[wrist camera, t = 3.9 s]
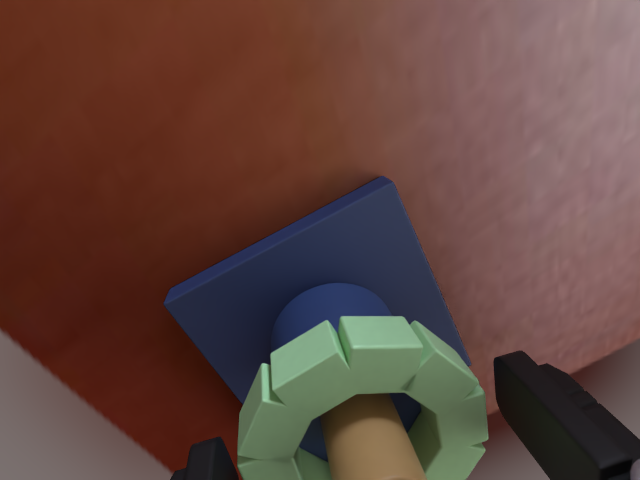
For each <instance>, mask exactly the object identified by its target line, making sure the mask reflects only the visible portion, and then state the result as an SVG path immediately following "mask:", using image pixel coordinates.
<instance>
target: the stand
mask: <svg viewBox="0 0 640 480" xmlns="http://www.w3.org/2000/svg"><path fill="white" fill-rule="evenodd" d="M163 304H164V306H165V307H166V309H167V310H168V311H169V313H170V314H171V315H172V316H173V318H174V319H175V320H176V321H177V323H178V324H179V325H180V326H181V328H182V329H183V330H184V331H185V333H186V334H187V335H188V336H189V338H190V339H191V340H192V342H193V343H194V344H195V345H196V347H197V348H198V349H199V350H200V352H201V353H202V354H203V355H204V357H205V358H206V359H207V360H208V362H209V363H210V364H211V365H212V367H213V368H214V369H215V371H216V372H217V373H218V374H219V376H220V377H221V378H222V379H223V381H224V382H225V383H226V384H227V386H228V387H229V388H230V389H231V391H232V392H233V393H234V394H235V396H236V397H237V398H238V400H239V401H240V402H241V403H242V405H243V404H244V402H245V400H246V397H247V395H248V393H249V391H250V388H251V386H252V384H253V382H254V379H255V377H256V375H257V372H258V370H259V368H260V366H261V364H262V363H264V364H268V365H271V360H270V354H271V353H272V352H274V351H275V350H277V349H279V348H280V347H282V346H284V345H285V344H287V343H289V342H290V341H292V340H294V339H295V338H297V337H299V336H300V335H302V334H304V333H305V332H307V331H309V330H310V329H312V328H314V327H315V326H317V325H319V324H320V323H322V322H324V321H325V320H328V321H329V322H330V324H331V325H332V326H333V328H334V329H335V331H336V332H337V333H338V327H339V319H340V317H341V316H402V317H404V318H405V319H406V321H407V322H408V324H409V325H410V324H411V323H412V322H413V321H418V322H419V323H420V324H422V325H423V326H424V327H425V328H427V329H428V330H429V331H431V332H432V333H433V334H434V335H436V336H437V337H438V338H440V339H441V340H442V341H444V342H445V343H446V344H447V345H449V346H450V347H451V348H453V349H454V350H455V351H456V352H457V353H458V355H459V356H460V357H461V359H462V360H463V361H464V362H465V364H466V365H467V366H468V367H469V366H470V365H471V362H470V359H469V357H468V355H467V352H466V350H465V348H464V345H463V343H462V341H461V338H460V336H459V334H458V331H457V329H456V327H455V324H454V322H453V320H452V317H451V315H450V313H449V310H448V308H447V306H446V303H445V301H444V299H443V296H442V294H441V292H440V289H439V287H438V285H437V282H436V280H435V278H434V275H433V273H432V271H431V268H430V266H429V264H428V261H427V259H426V257H425V254H424V252H423V250H422V247H421V245H420V243H419V240H418V238H417V236H416V233H415V231H414V229H413V226H412V224H411V222H410V219H409V217H408V215H407V212H406V210H405V208H404V205H403V203H402V201H401V198H400V196H399V194H398V192H397V189H396V187H395V185H394V183H393V182H392V181H391V180H389V179H388V178H386V177H384V176H381V177H379V178H377V179H375V180H373V181H371V182H369V183H367V184H366V185H364V186H362V187H360V188H358V189H356V190H354V191H352V192H351V193H349V194H347V195H345V196H343V197H341V198H339V199H337V200H336V201H334V202H332V203H330V204H328V205H326V206H324V207H322V208H321V209H319V210H317V211H315V212H313V213H311V214H309V215H307V216H306V217H304V218H302V219H300V220H298V221H296V222H294V223H292V224H291V225H289V226H287V227H285V228H283V229H281V230H279V231H277V232H275V233H274V234H272V235H270V236H268V237H266V238H264V239H262V240H260V241H259V242H257V243H255V244H253V245H251V246H249V247H247V248H245V249H244V250H242V251H240V252H238V253H236V254H234V255H232V256H230V257H229V258H227V259H225V260H223V261H221V262H219V263H217V264H215V265H214V266H212V267H210V268H208V269H206V270H204V271H202V272H200V273H199V274H197V275H195V276H193V277H191V278H189V279H187V280H185V281H184V282H182V283H180V284H178V285H176V286H174V287H172V288H170V290H169V292H168V294H167V296H166V299H165V301H164V303H163ZM420 412H421V404H420V403H419V402H418V401H416V400H415V399H413V398H412V397H410V396H409V395H407V394H406V393H376V394H356V395H354V396H352V397H351V398H349V399H347V400H346V401H344V402H342V403H341V404H339V405H337V406H335V407H334V408H332V409H330V410H329V411H327V412H325V413H323V414H322V415H320V416H318V417H317V418H315V419H313V420H312V421H311V423H310V425H309V427H308V429H307V431H306V433H305V435H304V437H303V439H302V441H301V443H300V444H299V447H300V448H301V449H303V450H305V451H307V452H309V453H311V454H313V455H315V456H317V457H319V458H321V459H322V460H324V461H326V462H328V463H329V467H330V472H331V477H332V480H427V478H426V475H425V473H424V471H423V469H422V466H421V464H420V462H419V460H418V457H417V455H416V453H415V451H414V448H413V446H412V444H411V442H410V439H409V437H408V435H407V433H408V432H409V430H410V428H411V427H412V425H413V423H414V422H415V420H416V418H417V417H418V415H419V413H420Z"/></svg>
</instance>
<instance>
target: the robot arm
mask: <svg viewBox="0 0 640 480" xmlns="http://www.w3.org/2000/svg"><path fill="white" fill-rule="evenodd" d="M494 377H495V392H496V400H497V404H498V407H499V409H500V411H501V413H502V415H503V417H504V418H505V420H506V421H507V422H508V424H509V425H510V426H511V428H512V429H513V431H514V432H515V433H516V435H517V436H518V437H519V439H520V440H521V441H522V442H523V444H524V445H525V447H526V448H527V449H528V451H529V452H530V453H531V454H532V456H533V457H534V458H535V460H536V461H537V463H538V464H539V465H540V466H541V468H542V469H543V470H544V472H545V473H546V474H547V476H548V477H549V478H550V480H640V440H639V439H638V438H637V437H636V436H635V435H634V434H633V433H632V432H631V431H630V430H629V429H627V428H626V427H625V426H624V425H623V424H622V423H621V422H620V421H619V420H618V419H616V418H615V417H614V416H613V415H612V414H611V413H610V412H609V411H608V410H606V408H604V407H603V406H602V405H601V404H598V403H597V401H596V399H595V398H593V397H592V396H591V395H590V394H589V393H588V392H587V391H584V389H583V388H582V387H581V386H580V385H579V384H578V383H577V382H576V381H575V380H574V379H573V378H571V377H570V376H569V375H568V374H567V373H565V372H563V371H561V370H559V369H557V368H555V367H553V366H551V365H549V364H547V363H546V364H543V365H539V366H538V365H537V364H536V363H535V362H534V361H533V360H532V359H531V358H530V357H529V356H528V355H527V354H526V353H525V352H523V351H516V352H513V353H509V354H506V355H502V356H499V357H496V358H494ZM170 480H239V478H238V474H237V472H236V469H235V467H234V465H233V463H232V460H231V458H230V456H229V454H228V451H227V449H226V447H225V444H224V442H223V440H222V439H221V437H216V438H213V439H209V440H206V441H202V442H199V443H195V444H193V445H192V446H191V448H190V451H189V457H188V462H187V467H186V468H184V469H181V470H177V471H175V472H174V474H173V476H172V477H171V479H170Z"/></svg>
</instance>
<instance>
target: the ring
mask: <svg viewBox="0 0 640 480" xmlns="http://www.w3.org/2000/svg"><path fill="white" fill-rule="evenodd" d="M270 360H271V365H268V364H264V363H262V364H261V366H260V368H259V370H258V372H257V375H256V377H255V379H254V382H253V384H252V386H251V388H250V391H249V393H248V395H247V397H246V400H245V402H244V404H243V407H242V409H241V411H240V413H239V432H238V451H237V454H238V460H237V467H238V469H239V471H240V474H241V476H242V478H243V480H332V477H331V472H330V467H329V463H328V462H326V461H324V460H322V459H321V458H319V457H317V456H315V455H313V454H311V453H309V452H307V451H305V450H303V449H301V448H300V447H299V444H300V443H301V441H302V439H303V437H304V435H305V433H306V431H307V429H308V427H309V425H310V423H311V421H312V420H313V419H315V418H317V417H318V416H320V415H322V414H323V413H325V412H327V411H329V410H330V409H332V408H334V407H335V406H337V405H339V404H341V403H342V402H344V401H346V400H347V399H349V398H351V397H352V396H354V395H356V394H376V393H406V394H407V395H409V396H410V397H412V398H413V399H415V400H416V401H418V402H419V403H420V404H421V412H420V413H419V415H418V417H417V418H416V420H415V422H414V423H413V425H412V427H411V428H410V430H409V432H408V433H407V435H408V437H409V439H410V442H411V444H412V446H413V448H414V451H415V453H416V455H417V457H418V460H419V462H420V464H421V466H422V469H423V471H424V473H425V475H426V478H427V480H466V479H467V477H468V475H469V474H470V473H471V471H472V470H473V468H474V467H475V465H476V464H477V462H478V461H479V459H480V458H481V457H482V455H483V454H484V452H485V448H484V446H483V445H482V443H481V442H484V441H487V440H488V427H487V415H486V402H485V392H484V390H483V389H482V388H481V387H480V385H479V381H478V379H477V378H476V377H475V375H474V374H473V373H472V371H471V370H470V369H469V368H468V366H467V365H466V364H465V362H464V361H463V360H462V359H461V357H460V356H459V355H458V353H457V352H456V351H455V350H454V349H453V348H451V347H450V346H449V345H447V344H446V343H445V342H444V341H442V340H441V339H440V338H438V337H437V336H436V335H434V334H433V333H432V332H431V331H429V330H428V329H427V328H425V327H424V326H423V325H422V324H420V323H419V322H418V321H413V322H412V323H411V324H410V325H409V324H408V322H407V321H406V319H405V318H404V317H402V316H341V317H340V319H339V327H338V333H337V332H336V331H335V329H334V328H333V326H332V325H331V324H330V322H329V321H328V320H325V321H324V322H322V323H320V324H319V325H317V326H315V327H314V328H312V329H310V330H309V331H307V332H305V333H304V334H302V335H300V336H299V337H297V338H295V339H294V340H292V341H290V342H289V343H287V344H285V345H284V346H282V347H280V348H279V349H277V350H275V351H274V352H272V353H271V354H270Z"/></svg>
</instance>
